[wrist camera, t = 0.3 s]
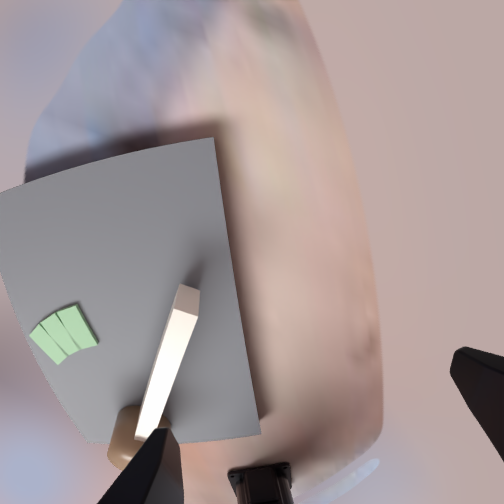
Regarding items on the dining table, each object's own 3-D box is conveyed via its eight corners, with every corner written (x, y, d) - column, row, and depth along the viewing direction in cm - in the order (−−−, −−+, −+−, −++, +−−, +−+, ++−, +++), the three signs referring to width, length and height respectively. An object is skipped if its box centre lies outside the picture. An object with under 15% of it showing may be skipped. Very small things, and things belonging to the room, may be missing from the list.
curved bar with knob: (164, 445, 21) (161, 482, 17) (114, 430, 20) (105, 466, 16) (226, 296, 17) (231, 333, 14) (153, 271, 16) (138, 302, 13)
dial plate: (258, 421, 23) (262, 436, 21) (91, 431, 22) (86, 445, 20) (213, 138, 16) (213, 136, 15) (-5, 196, 15) (-20, 200, 13)
